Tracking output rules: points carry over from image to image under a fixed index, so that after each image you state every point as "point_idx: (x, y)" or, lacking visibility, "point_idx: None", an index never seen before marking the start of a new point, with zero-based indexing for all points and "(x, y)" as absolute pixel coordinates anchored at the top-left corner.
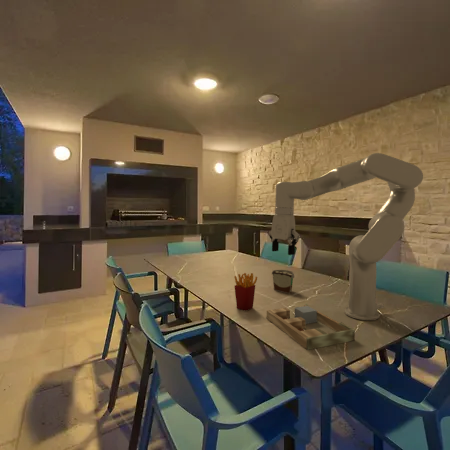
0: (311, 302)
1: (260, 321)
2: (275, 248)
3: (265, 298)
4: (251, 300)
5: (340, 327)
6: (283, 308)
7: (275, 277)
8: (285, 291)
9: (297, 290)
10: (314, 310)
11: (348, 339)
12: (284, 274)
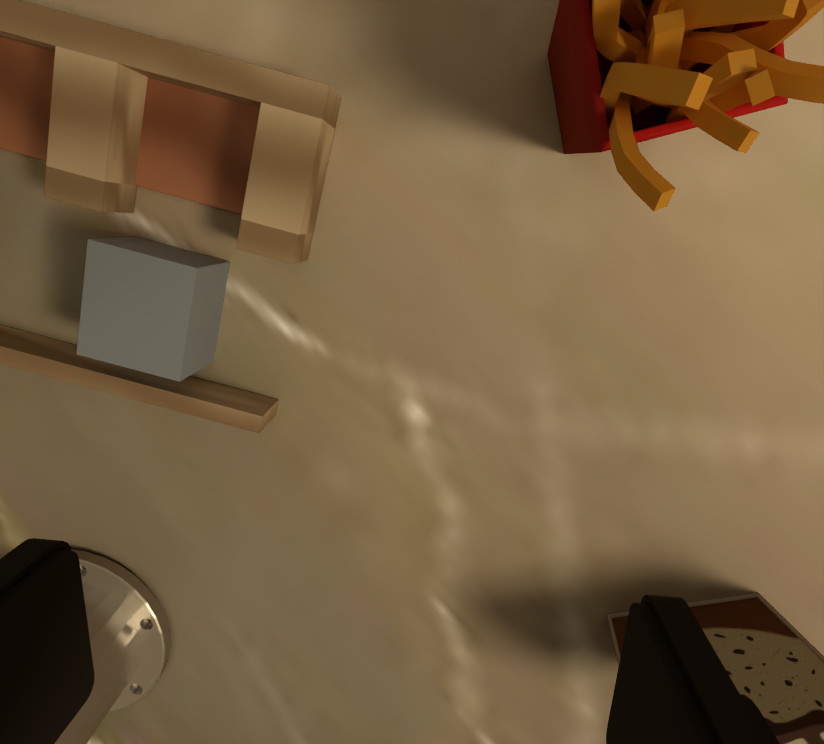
0: (382, 581)
1: (318, 10)
2: (640, 719)
3: (657, 394)
4: (568, 116)
5: None
6: (290, 237)
7: (810, 679)
8: None
9: None
10: (85, 343)
11: None
12: None
